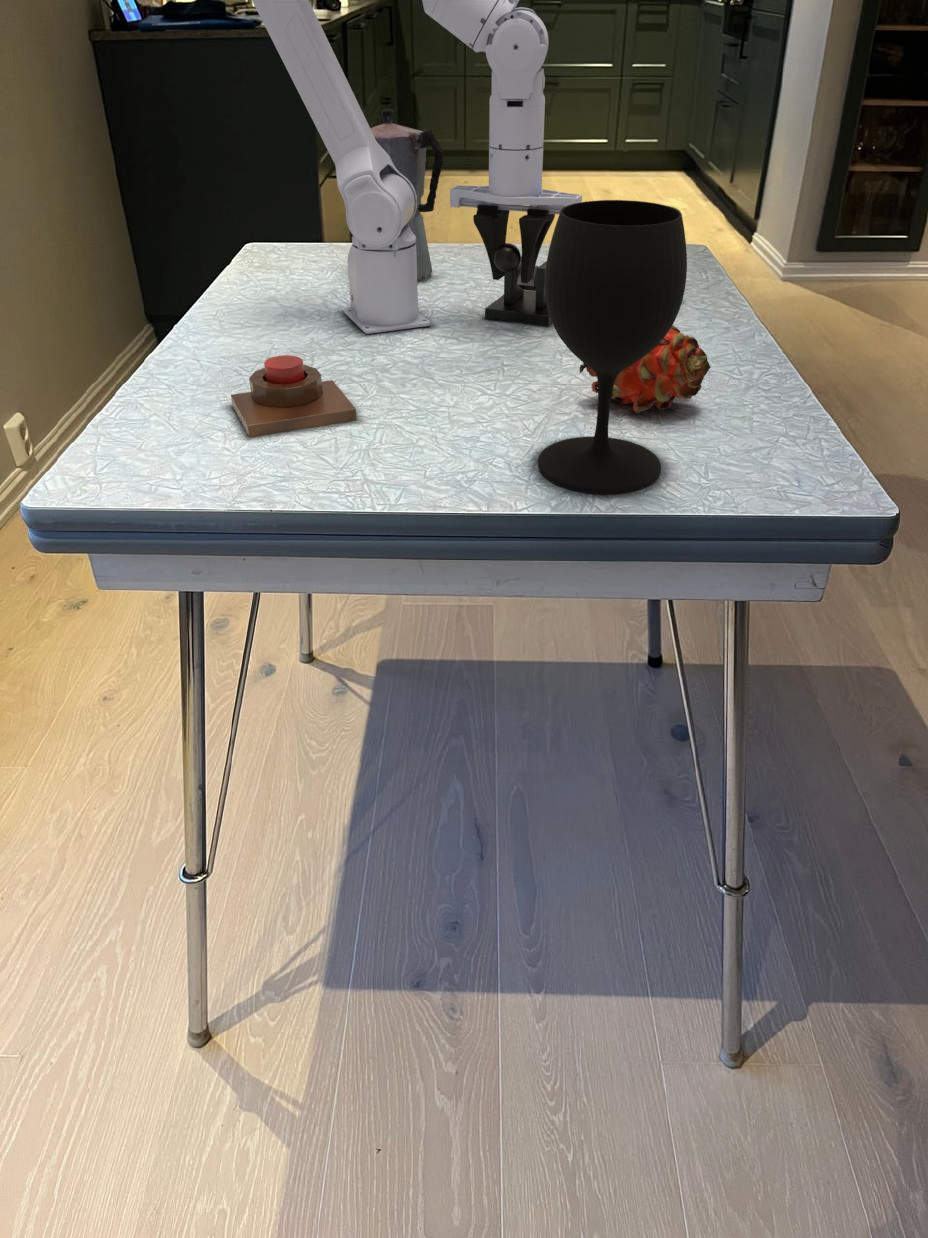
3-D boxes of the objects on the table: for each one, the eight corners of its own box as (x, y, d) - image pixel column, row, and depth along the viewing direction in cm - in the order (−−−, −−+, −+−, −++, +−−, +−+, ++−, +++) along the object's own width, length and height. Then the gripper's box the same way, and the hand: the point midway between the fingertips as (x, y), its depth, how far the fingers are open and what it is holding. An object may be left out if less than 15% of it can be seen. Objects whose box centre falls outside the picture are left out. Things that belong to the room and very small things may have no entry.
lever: (513, 269, 102) (518, 240, 101) (487, 266, 103) (492, 238, 102) (542, 294, 113) (547, 268, 113) (519, 292, 114) (524, 266, 114)
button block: (249, 438, 84) (244, 406, 82) (229, 401, 91) (225, 371, 89) (357, 421, 87) (354, 390, 85) (330, 387, 94) (327, 357, 92)
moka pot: (381, 260, 134) (373, 101, 123) (469, 277, 127) (469, 109, 116) (336, 275, 128) (323, 108, 117) (425, 293, 121) (421, 118, 109)
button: (270, 388, 87) (268, 370, 86) (262, 375, 89) (260, 357, 88) (309, 383, 88) (307, 365, 87) (299, 370, 91) (297, 352, 90)
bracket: (548, 326, 110) (550, 275, 106) (484, 318, 112) (485, 268, 109) (571, 305, 116) (574, 256, 113) (511, 297, 119) (512, 249, 116)
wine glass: (516, 452, 81) (523, 204, 70) (620, 432, 85) (643, 192, 73) (574, 504, 73) (593, 234, 62) (686, 480, 77) (724, 220, 65)
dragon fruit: (711, 429, 89) (584, 436, 92) (710, 353, 92) (587, 362, 95) (711, 378, 81) (573, 388, 84) (710, 296, 84) (576, 308, 87)
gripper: (593, 144, 100) (585, 276, 107) (467, 137, 104) (467, 264, 112) (573, 154, 94) (566, 292, 102) (441, 146, 99) (443, 279, 107)
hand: (513, 279), depth 107 cm, fingers closed on lever, 3 cm apart
